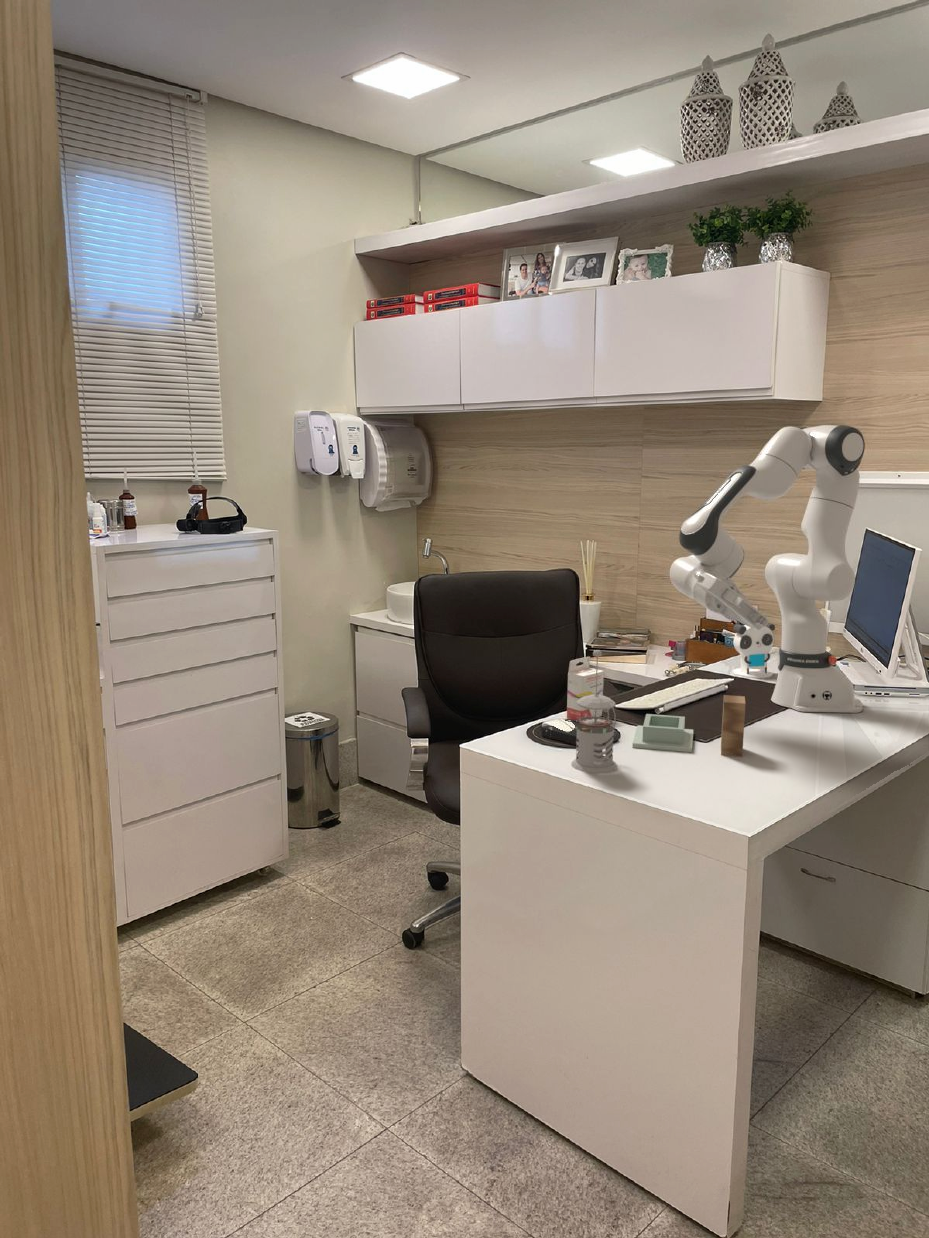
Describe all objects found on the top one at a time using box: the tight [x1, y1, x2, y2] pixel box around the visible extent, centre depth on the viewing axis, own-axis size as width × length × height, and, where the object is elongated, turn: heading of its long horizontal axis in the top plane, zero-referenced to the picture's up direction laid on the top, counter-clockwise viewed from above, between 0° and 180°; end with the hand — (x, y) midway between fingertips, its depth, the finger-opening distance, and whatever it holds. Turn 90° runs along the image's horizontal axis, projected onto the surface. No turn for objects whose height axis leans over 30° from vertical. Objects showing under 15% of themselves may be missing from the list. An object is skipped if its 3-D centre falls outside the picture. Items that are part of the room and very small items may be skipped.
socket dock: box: [631, 713, 694, 753], centre depth 216 cm, size 13×14×4 cm
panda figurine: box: [732, 622, 776, 679], centre depth 278 cm, size 12×11×15 cm
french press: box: [570, 649, 618, 774], centre depth 198 cm, size 10×12×25 cm
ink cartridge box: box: [566, 656, 605, 721], centre depth 233 cm, size 9×5×15 cm, turn 135°
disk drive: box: [540, 718, 619, 747], centre depth 218 cm, size 10×3×15 cm
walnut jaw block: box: [720, 694, 746, 757], centre depth 208 cm, size 4×6×12 cm
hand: (753, 613), depth 212 cm, fingers open, 8 cm apart
